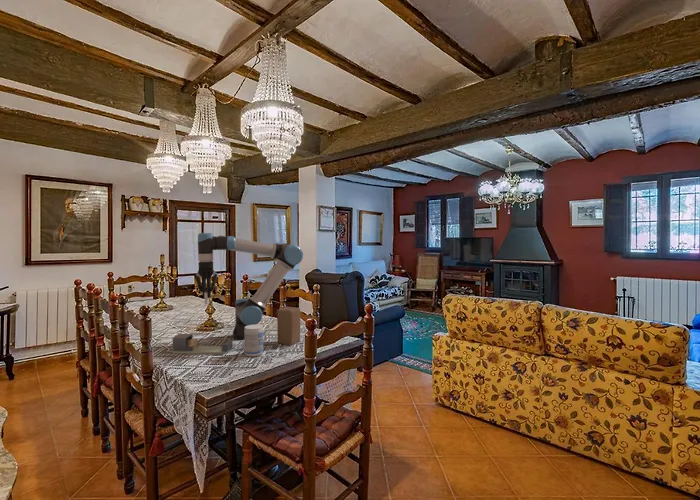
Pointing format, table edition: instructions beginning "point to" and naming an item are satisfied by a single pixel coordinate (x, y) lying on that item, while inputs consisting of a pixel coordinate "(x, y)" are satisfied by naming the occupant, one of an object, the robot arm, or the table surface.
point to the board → (204, 350)
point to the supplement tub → (253, 340)
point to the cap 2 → (227, 346)
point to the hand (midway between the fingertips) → (207, 303)
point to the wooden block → (288, 325)
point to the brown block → (192, 343)
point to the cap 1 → (182, 342)
